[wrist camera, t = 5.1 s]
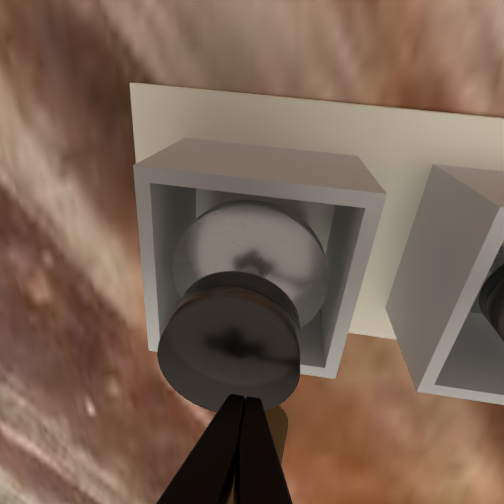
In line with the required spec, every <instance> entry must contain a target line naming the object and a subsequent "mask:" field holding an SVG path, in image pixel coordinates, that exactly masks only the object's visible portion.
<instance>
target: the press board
mask: <svg viewBox="0 0 504 504" xmlns="http://www.w3.org/2000/svg"><path fill="white" fill-rule="evenodd" d="M130 95H131V108H132V120H133V133H134V145H135V157H136V164H134V165H133V170H134V182H135V194H136V206H137V217H138V229H139V241H140V253H141V264H142V276H143V288H144V300H145V312H146V323H147V335H148V347H149V351H155V352H158V344H159V341H160V338H161V336H162V334H163V332H164V330H165V328H166V326H167V324H168V322H169V321H170V319H171V317H172V315H173V313H174V311H175V309H176V307H177V305H178V304H179V302H180V300H181V299H180V297H179V296H178V293H177V291H176V288H175V285H174V281H173V274H172V262H173V257H174V252H175V250H176V247H177V244H178V243H179V241H180V239H181V237H182V236H183V234H184V233H185V232H186V230H187V229H188V228H189V226H190V225H191V224H192V223H193V222H194V221H195V220H196V219H197V218H198V217H199V216H200V215H201V214H203V213H204V212H206V211H207V210H209V209H211V208H213V207H215V206H217V205H220V204H223V203H226V202H231V201H236V200H258V201H264V202H269V203H272V204H275V205H278V206H281V207H283V208H285V209H287V210H289V211H291V212H292V213H294V214H295V215H297V216H298V217H300V218H301V219H302V220H303V221H304V222H306V223H307V225H308V226H309V227H310V228H311V229H312V230H313V231H314V233H315V234H316V236H317V237H318V239H319V241H320V243H321V245H322V247H323V250H324V253H325V256H326V262H327V268H328V289H327V294H326V297H325V300H324V302H323V304H322V306H321V308H320V310H319V311H318V313H317V314H316V315H315V316H314V318H313V319H312V320H311V321H310V322H309V323H307V324H306V325H305V326H304V327H302V328H301V329H300V374H305V375H312V376H318V377H325V378H331V379H335V378H336V375H337V371H338V367H339V364H340V360H341V357H342V353H343V349H344V346H345V342H346V339H347V335H348V333H354V334H361V335H368V336H375V337H382V338H389V339H396V340H397V341H398V344H399V346H400V349H401V351H402V354H403V357H404V359H405V362H406V365H407V367H408V370H409V373H410V375H411V378H412V381H413V383H414V386H415V389H416V391H417V392H422V393H429V394H436V395H442V396H449V397H455V398H462V399H468V400H475V401H481V402H488V403H494V404H501V405H504V341H503V340H502V338H501V337H500V336H499V335H498V333H497V332H496V331H495V330H494V328H493V327H492V326H491V324H490V323H489V322H488V321H487V319H486V318H485V317H484V315H483V314H482V313H472V312H469V311H470V309H471V307H472V305H473V303H474V301H475V299H476V296H477V294H478V292H479V290H480V288H481V286H482V284H483V282H484V280H485V278H486V276H487V274H488V271H489V269H490V267H491V265H492V263H493V261H494V259H495V257H496V255H497V253H498V251H499V249H500V247H501V244H502V242H503V240H504V118H501V117H491V116H481V115H470V114H460V113H449V112H439V111H428V110H418V109H408V108H397V107H387V106H376V105H366V104H355V103H345V102H335V101H324V100H314V99H303V98H293V97H282V96H272V95H262V94H251V93H241V92H230V91H220V90H209V89H199V88H188V87H178V86H168V85H157V84H147V83H130Z"/></svg>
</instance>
